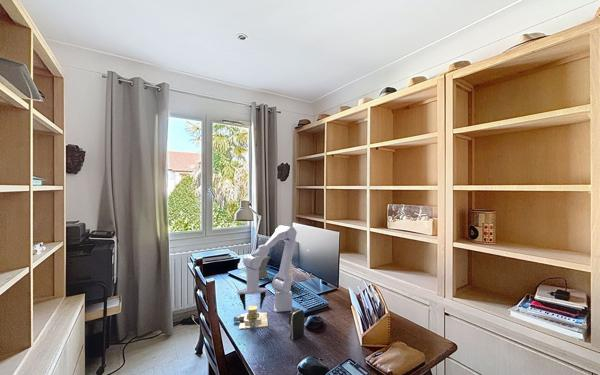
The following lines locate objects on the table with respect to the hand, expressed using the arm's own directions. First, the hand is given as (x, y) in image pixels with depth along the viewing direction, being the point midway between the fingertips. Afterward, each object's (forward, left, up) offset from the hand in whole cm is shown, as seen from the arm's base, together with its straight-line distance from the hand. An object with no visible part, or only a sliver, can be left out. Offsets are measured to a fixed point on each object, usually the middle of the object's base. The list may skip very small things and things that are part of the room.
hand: (252, 308), depth 128 cm
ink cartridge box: (-21, -39, -6) cm, 45 cm away
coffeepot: (-4, -60, -6) cm, 60 cm away
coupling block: (0, 0, -6) cm, 6 cm away
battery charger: (-19, +16, -6) cm, 26 cm away
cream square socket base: (+1, +1, -6) cm, 6 cm away
